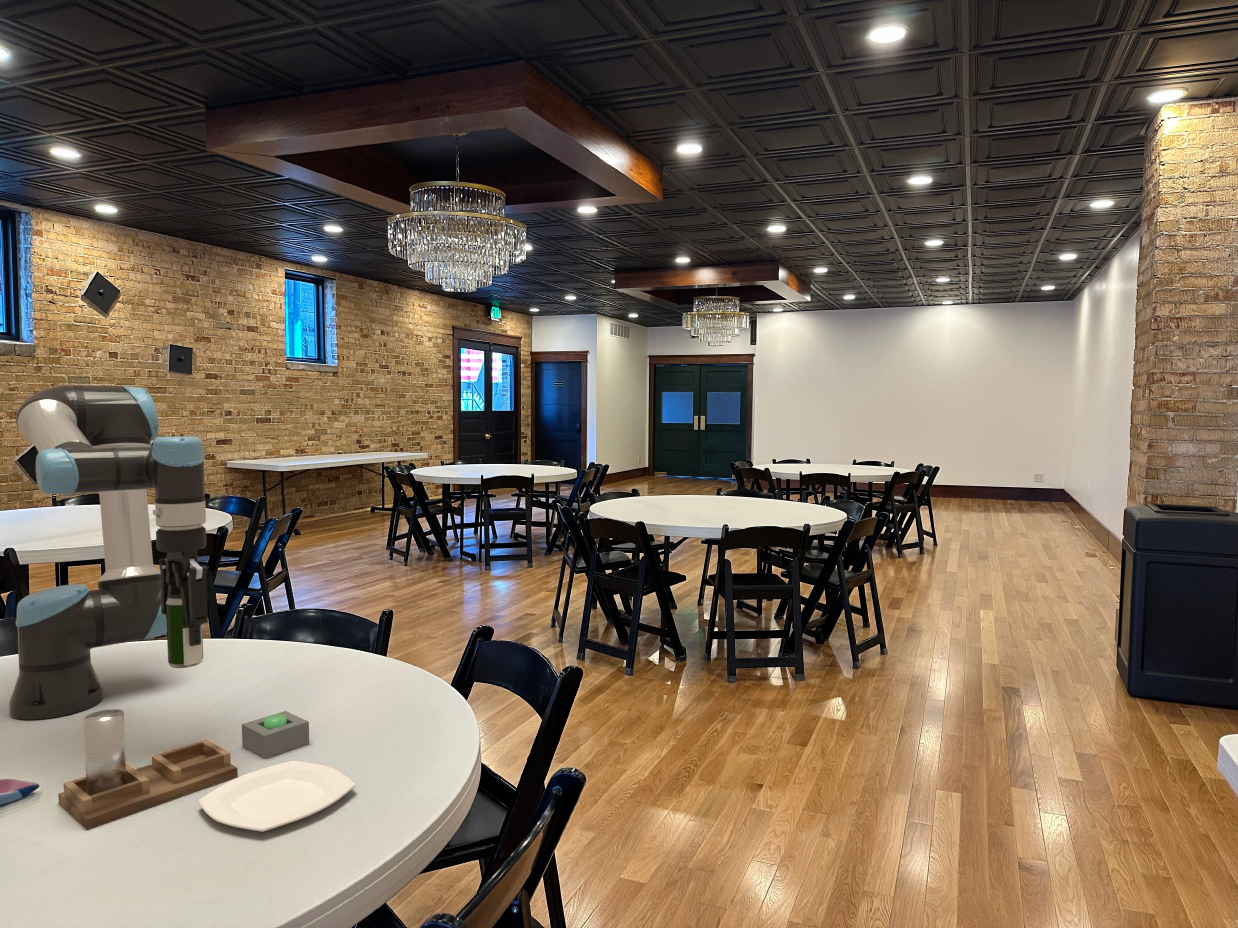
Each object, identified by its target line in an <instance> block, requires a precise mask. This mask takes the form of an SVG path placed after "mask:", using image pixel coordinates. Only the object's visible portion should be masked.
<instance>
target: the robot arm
mask: <svg viewBox="0 0 1238 928" xmlns="http://www.w3.org/2000/svg"><path fill="white" fill-rule="evenodd" d="M159 423H160V422H159V417H158V410H157V408H156V404H155V402H154V399H153V397H152V396H151V394H150V393H149V392H148V391H147V390H146V389H144V388H142V387H138V386H136V387H135V386H134V387H133V386H125V385H120V386H119V385H113V386H112V385H68V384H67V385H65V384H63V385H56V386H52V387H48V388H45V389H43V390H40V391H37V392H36V393H34V394H32V395H30V396H29V397H28V398H26V399H25V400H24V401H23V402H22V403H21V404H20V406H19V407H18V409H17V411H16V415H15V424H16V428H17V429H18V431H19V434H20V435H21V437H23V438H24V440H25V441H27V442H28V443H30V444H31V445H34V447H35V448H36V450H37V452H38V453H37V455H36V457H35V477H36V483H37V487H38V490H39V491H40V492H41V493H42V494H45V495H64V496H66V495H71V494H72V495H73V494H83V493H85V494H87V493H88V494H89V493H98V494H99V503H100V504H99V505H100V518H101V530H102V540H103V541H102V543H103V554H104V555H103V556H104V563H105V564H104V567H105V571H104V573H103V574H102V575H101V576H100V578H98V579H97V585H98V586H97V589H93V590H92V589H91V590H90V589H89V588H88V586H87V585H86V584H83V583H74V584H65V585H58V586H54V587H50V588H46V589H42V590H40V591H39V590H38V591H36V592H32V593H30V594H29V595H26V596H24V597H23V598H22V599H20V601H18V603H17V606H16V621H15V627H16V629H17V653H18V676H17V679H16V682H15V685H14V689H13V691H12V694H11V697H10V700H9V715H10V716H11V717H12V718H14V719H18V720H27V721H28V720H29V721H30V720H43V719H44V720H45V719H46V720H47V719H51V718H52V719H53V718H58V717H64V716H67V715H71V714H75V713H79V712H82V711H84V710H87V709H90V708H93V707H94V706H96V705H97V704H99V703H101V702H102V700H103V699H104V698H103V697H104V696H103V694H104V693H103V685H102V684H101V682H100V680H99V677H98V675H97V673H96V671H95V668H94V666H93V664H92V661H91V660H92V659H91V650H92V649H95V648H100V647H106V646H107V647H108V646H112V645H119V644H125V643H126V644H127V643H131V642H136V641H145V640H147V639H152V638H153V639H154V638H157V637H161V636H162V635H164V634H167V621H166V602H167V600H168V599H167V597H168V596H169V595H173V594H179V593H181V598H182V605H183V611H184V618H185V625H181V628H182V629H183V648H184V665H186V666H187V665H191V664H195V663H199V662H201V663H202V662H203V660H204V659H203V660H202V634H203V630H202V631H201V625H202V626H203V625H204V624H207V623H208V622H209V614H208V610H209V609H208V595H207V592H208V591H207V576H208V575H207V574H208V567H207V565H201V566H200V562H199V558H198V551H200V550H202V549H204V548H206V546H207V528H206V527H205V526H203V525H204V524H205V523H206V522H207V518H206V517H207V513H206V512H207V511H206V500H205V496H206V495H205V465H204V461H205V454H204V449H203V441H202V439H201V438H200V437H198V436H159V432H160V429H159ZM152 441H153V442H152ZM151 443H152V445H151ZM153 489H154V507H155V509H153V510H152V515H154V516H155V525H156V526H157V527H158V528H157V530H156V531H155V537H156V538H155V542H156V543H155V544H156V550H157V551H158V552H162V553H166V557H163V558H160V559H158V565H159V569H158V568H156V567H155V565H154V561H153V560H154V559H153V550H152V549H153V547H152V546H153V545H152V537H151V536H152V535H151V525H150V524H151V523H150V515H149V514H150V513H149V503H148V493H147V492H148V491H147V490H153Z"/></svg>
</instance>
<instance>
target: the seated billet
mask: <svg viewBox="0 0 1238 928" xmlns="http://www.w3.org/2000/svg"><path fill="white" fill-rule="evenodd" d="M124 713H125V712H124V711H123V710H122V709H117V708H116V709H103V710H98V711H95V712H92V713H89V714H87V715H86V716H84V717H83V719H82V720H83V735H84V736H83V738H84V742H83V743H84V759H85V761H84V762H85V777H86V788H87V795H89V796H91V795H94V794H98V793H101V792H104V791H107V790H110V789H113V788H116V787H119V786H122V785H125V784H127V781H126V764H127V762H126V761H127V760H126V758H127V757H126V743H125V742H126V737H125V714H124Z"/></svg>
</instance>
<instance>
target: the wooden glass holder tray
mask: <svg viewBox="0 0 1238 928" xmlns="http://www.w3.org/2000/svg"><path fill="white" fill-rule="evenodd" d="M231 761H232V760H231V752H229V751H227V750H226V749H225V748H222V747H221V746H219V745H217V744H216V743H214V742H212V741H210V740H208V739H203V740H200V741H196V742H194V743H190V744H187V745H184V746H181V747H178V748H175V749H171V750H168V751H165V752H161V753H158V754H155V755H152V756H151V764H148V765H145V766H142V767H139V768H136V769H135V767H132V766H131V765H130V764H129V763H126V781H127V784H125V785H122V786H119V787H116V788H113V789H110V790H107V791H104V792H101V793H98V794H94V795H91V796H89V795H87V788H86V776H83V777H79V778H76V779H73V780H71V781H67V782H64V783H63V792H62V791H61V792H59V793H58V795H57V797H58V798H57V799H58V804H59V806H61V807H62V808H63V809H64V810H66V812H68V814H69V815H70V816H71V817H73V818H74V819H75V820H76V821H77V823H79V824H80V825H82V827H84V829H86V831H87V830H90V829H93V828H96V827H100V826H102V825H105V824H108V823H111V822H113V821H116V820H118V819H121V818H124V817H127V816H130V815H134V814H136V813H138V812H139V813H140V812H141V811H146V810H148V809H150V808H152V807H155V806H158V805H161V804H164V803H167V802H170V801H172V800H176V799H178V798H182V797H183V796H184V797H185V796H186V795H190V794H192V793H196V792H199V791H201V790H204V789H207V788H210V787H214V786H215V785H218V784H221V783H224V782H227V781H229V780H230V781H231V780H234V779H236V778H238V777H239V776H238V774H239V773H238V772H239V771H238V767H237V766H235V765H234V764H232V762H231Z"/></svg>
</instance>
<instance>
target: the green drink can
mask: <svg viewBox="0 0 1238 928" xmlns="http://www.w3.org/2000/svg"><path fill="white" fill-rule="evenodd" d="M167 599H168V600H167V602H166V621H167V631H166V638H167V639H166V640H167V641H166V644H167V662H168V665H169V666H170V667H171V668H173V669H187V668H192V667H195V666H198V665H200V664H201V663H202V662H199V663H195V664H191V665H187V666H186V665H184V648H183V629H182V628H181V625H185V618H184V611H183V605H182V598H181V593H179V594H173V595H169V596H168V597H167ZM201 631H202V632H203V625H201ZM203 636H204V635H203V633H202V660H204V643H203V642H204V640H203V639H204V638H203Z"/></svg>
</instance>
